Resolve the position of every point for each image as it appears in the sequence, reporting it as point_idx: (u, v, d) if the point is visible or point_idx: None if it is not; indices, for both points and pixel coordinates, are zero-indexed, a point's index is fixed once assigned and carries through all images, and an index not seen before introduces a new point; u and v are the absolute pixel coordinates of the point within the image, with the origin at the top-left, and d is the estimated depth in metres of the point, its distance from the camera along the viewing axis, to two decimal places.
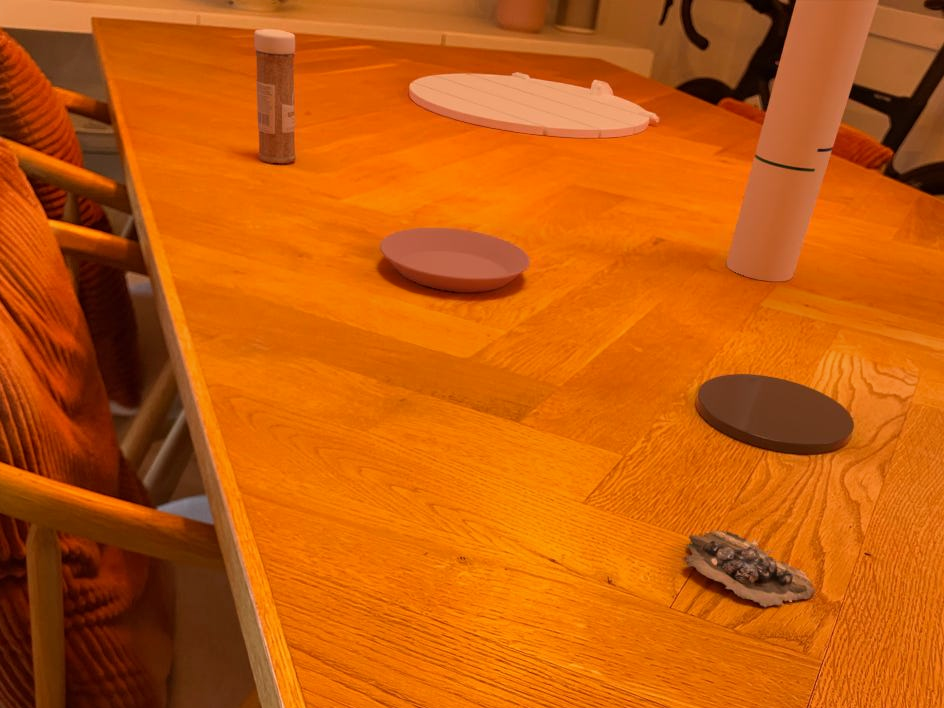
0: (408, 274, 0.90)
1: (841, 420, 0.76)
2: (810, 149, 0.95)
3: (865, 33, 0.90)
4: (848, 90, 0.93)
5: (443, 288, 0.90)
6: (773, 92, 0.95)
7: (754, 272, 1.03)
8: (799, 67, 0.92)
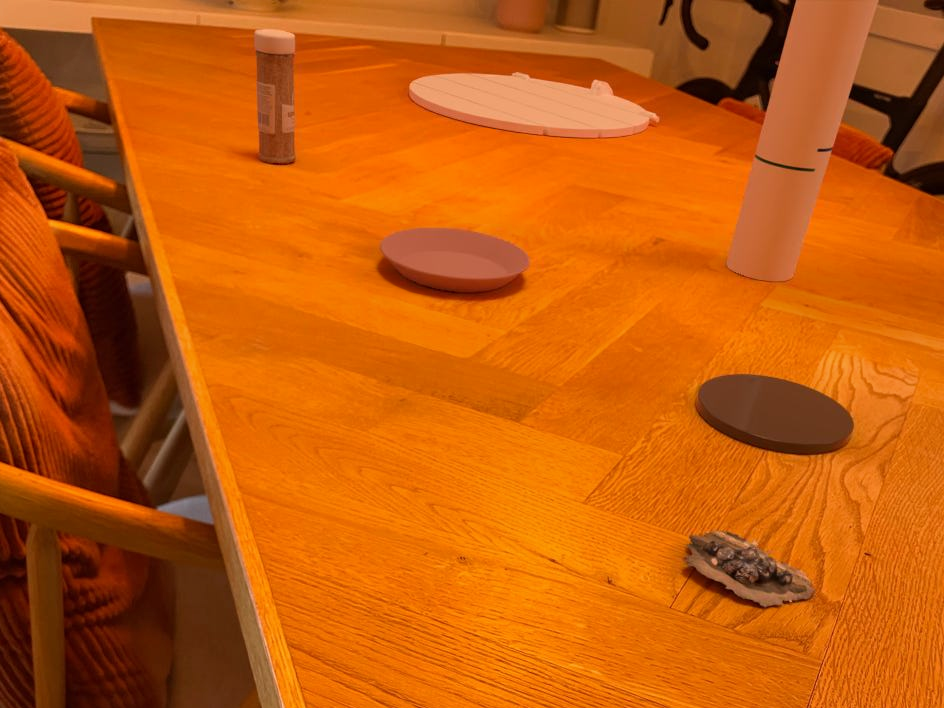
0: (408, 274, 0.90)
1: (841, 420, 0.76)
2: (810, 149, 0.95)
3: (865, 33, 0.90)
4: (848, 90, 0.93)
5: (443, 288, 0.90)
6: (773, 92, 0.95)
7: (754, 272, 1.03)
8: (799, 67, 0.92)
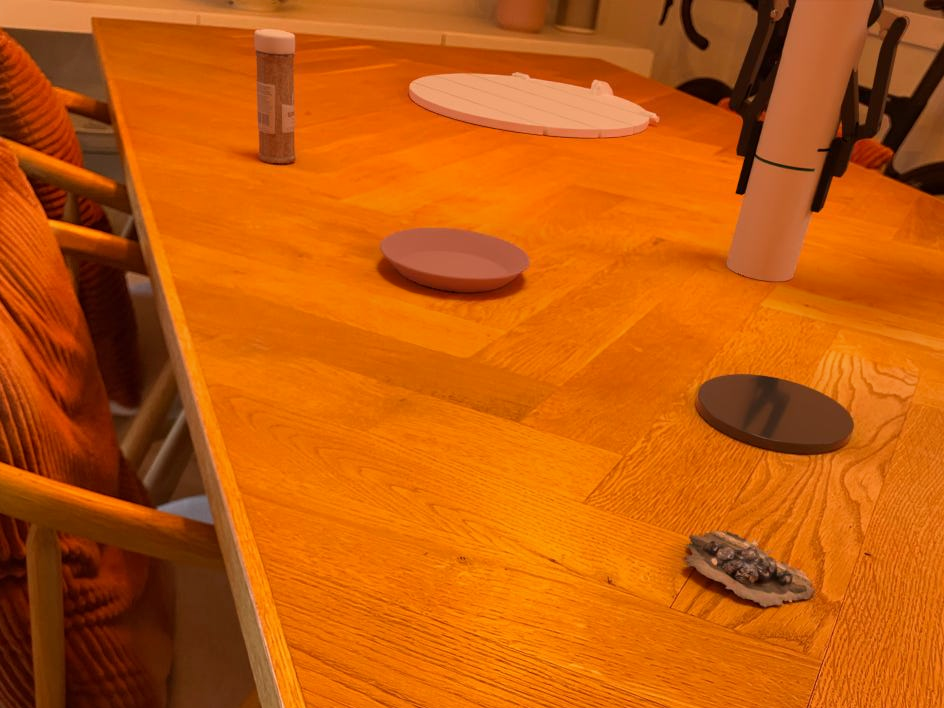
0: (408, 274, 0.90)
1: (841, 420, 0.76)
2: (810, 149, 0.95)
3: (865, 33, 0.90)
4: None
5: (443, 288, 0.90)
6: (773, 92, 0.95)
7: (754, 272, 1.03)
8: (799, 67, 0.92)
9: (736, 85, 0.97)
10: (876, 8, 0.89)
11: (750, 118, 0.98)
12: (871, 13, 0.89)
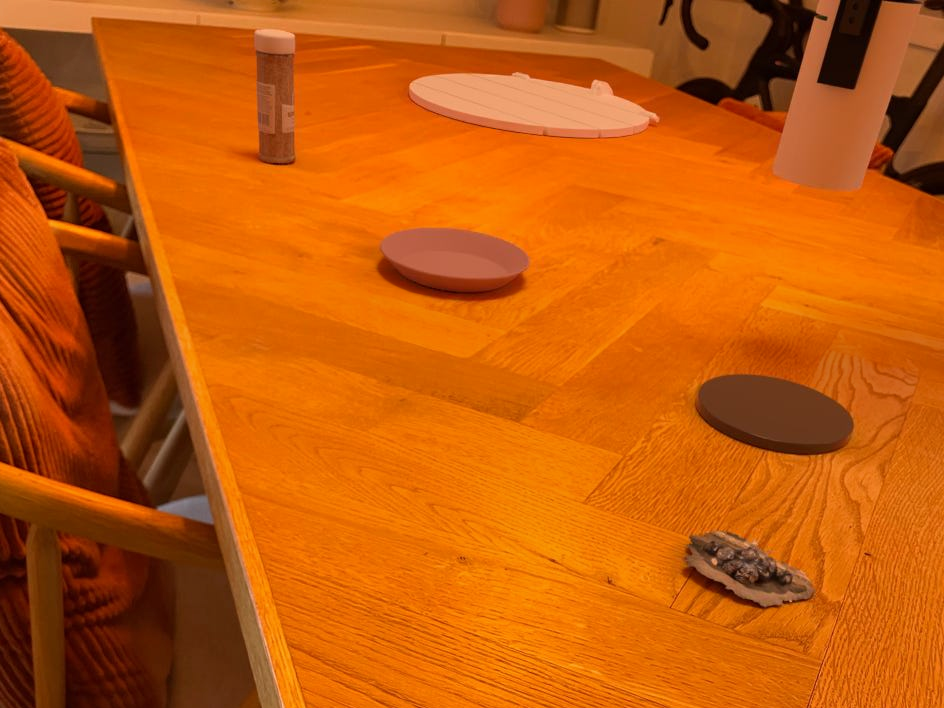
0: (408, 274, 0.90)
1: (841, 420, 0.76)
2: None
3: None
4: None
5: (443, 288, 0.90)
6: None
7: None
8: None
9: None
10: None
11: None
12: None
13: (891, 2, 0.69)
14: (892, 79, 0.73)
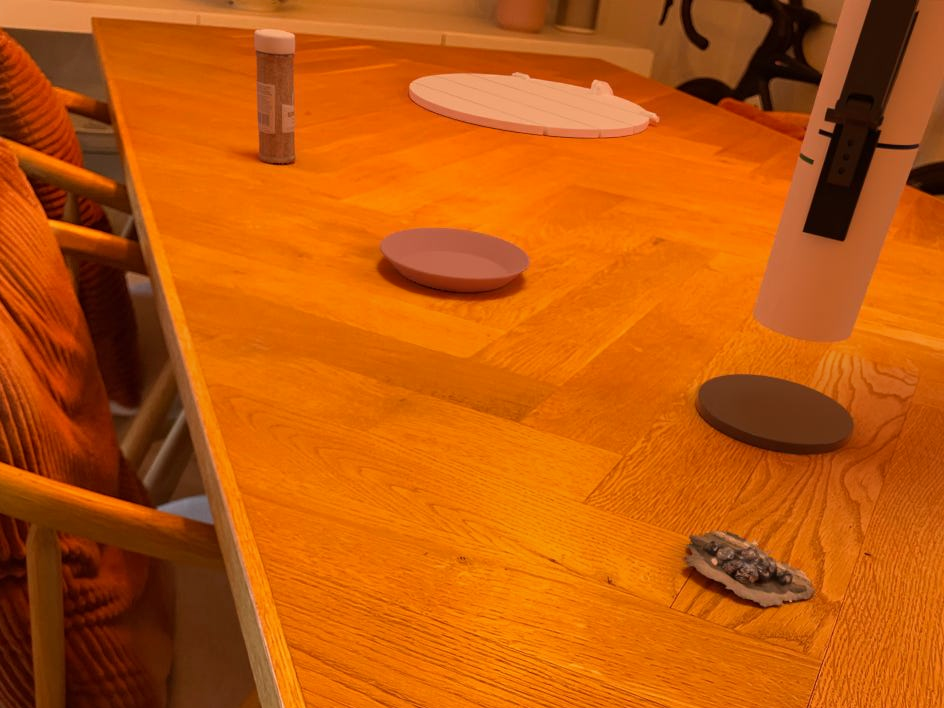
0: (408, 274, 0.90)
1: (841, 420, 0.76)
2: (813, 127, 0.64)
3: None
4: None
5: (443, 288, 0.90)
6: None
7: None
8: None
9: None
10: None
11: None
12: None
13: (885, 149, 0.62)
14: (886, 227, 0.65)
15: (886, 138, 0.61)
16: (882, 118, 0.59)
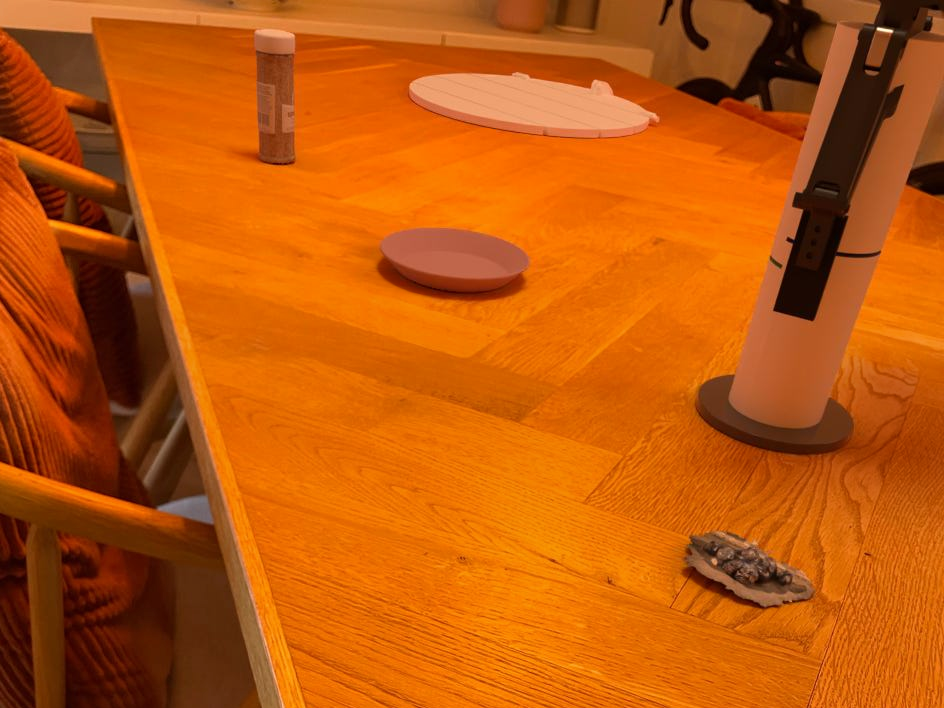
0: (408, 274, 0.90)
1: (841, 420, 0.76)
2: (781, 234, 0.68)
3: None
4: None
5: (443, 288, 0.90)
6: None
7: (731, 387, 0.77)
8: None
9: None
10: None
11: None
12: None
13: (848, 257, 0.66)
14: (851, 324, 0.70)
15: (849, 248, 0.65)
16: (849, 205, 0.60)
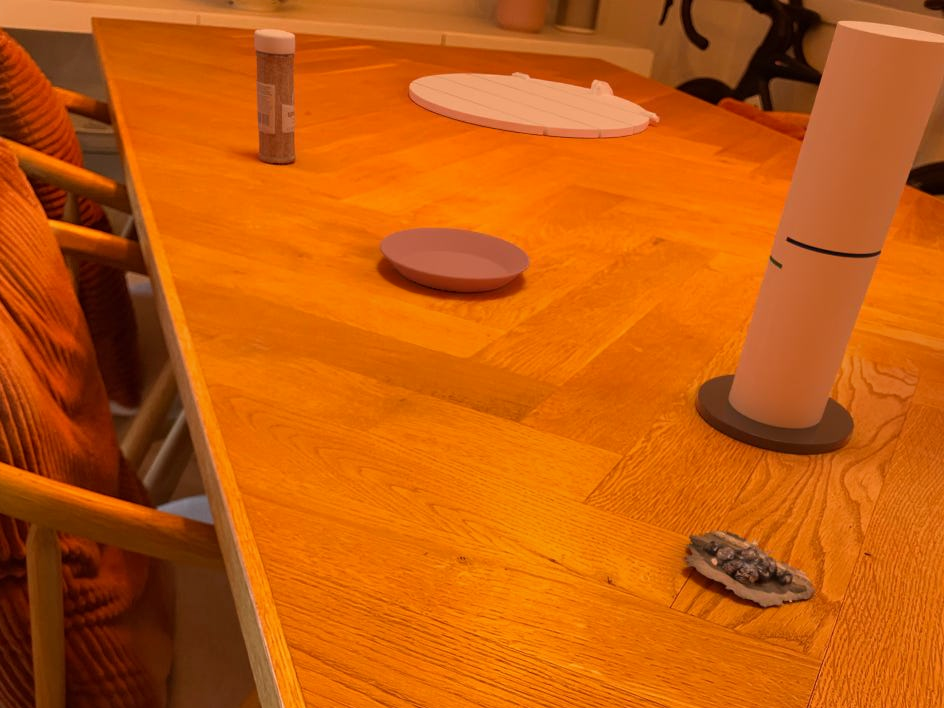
0: (408, 274, 0.90)
1: (841, 420, 0.76)
2: (781, 234, 0.68)
3: (859, 82, 0.60)
4: (835, 165, 0.63)
5: (443, 288, 0.90)
6: None
7: (731, 387, 0.77)
8: None
9: None
10: None
11: None
12: None
13: (848, 257, 0.66)
14: (851, 324, 0.70)
15: (849, 248, 0.65)
16: None
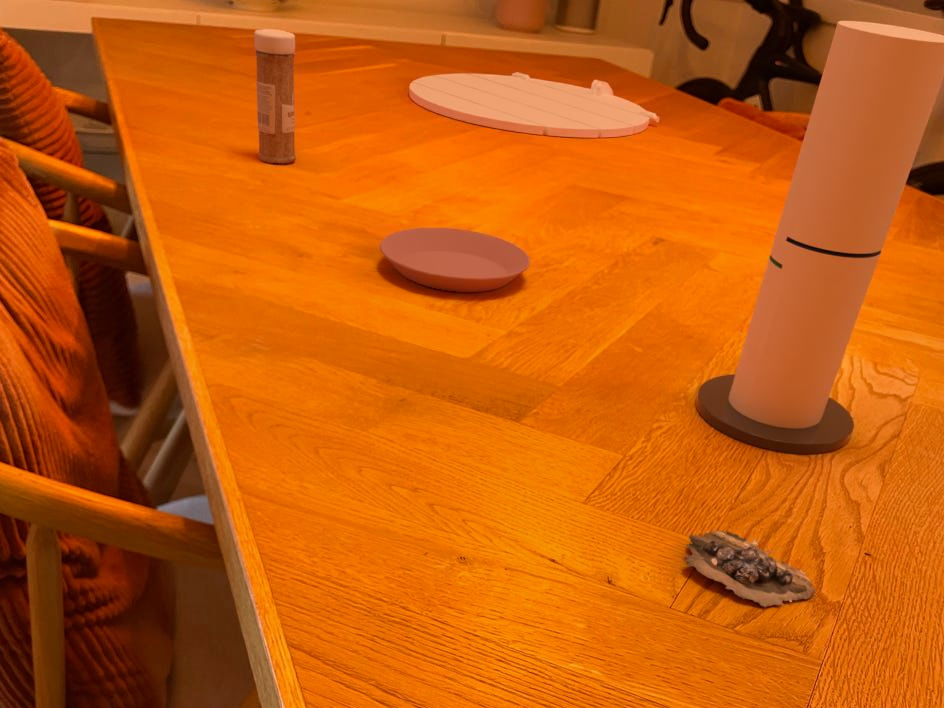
0: (408, 274, 0.90)
1: (841, 420, 0.76)
2: (781, 234, 0.68)
3: (859, 82, 0.60)
4: (835, 165, 0.63)
5: (443, 288, 0.90)
6: None
7: (731, 387, 0.77)
8: None
9: None
10: None
11: None
12: None
13: (848, 257, 0.66)
14: (851, 324, 0.70)
15: (849, 248, 0.65)
16: None
